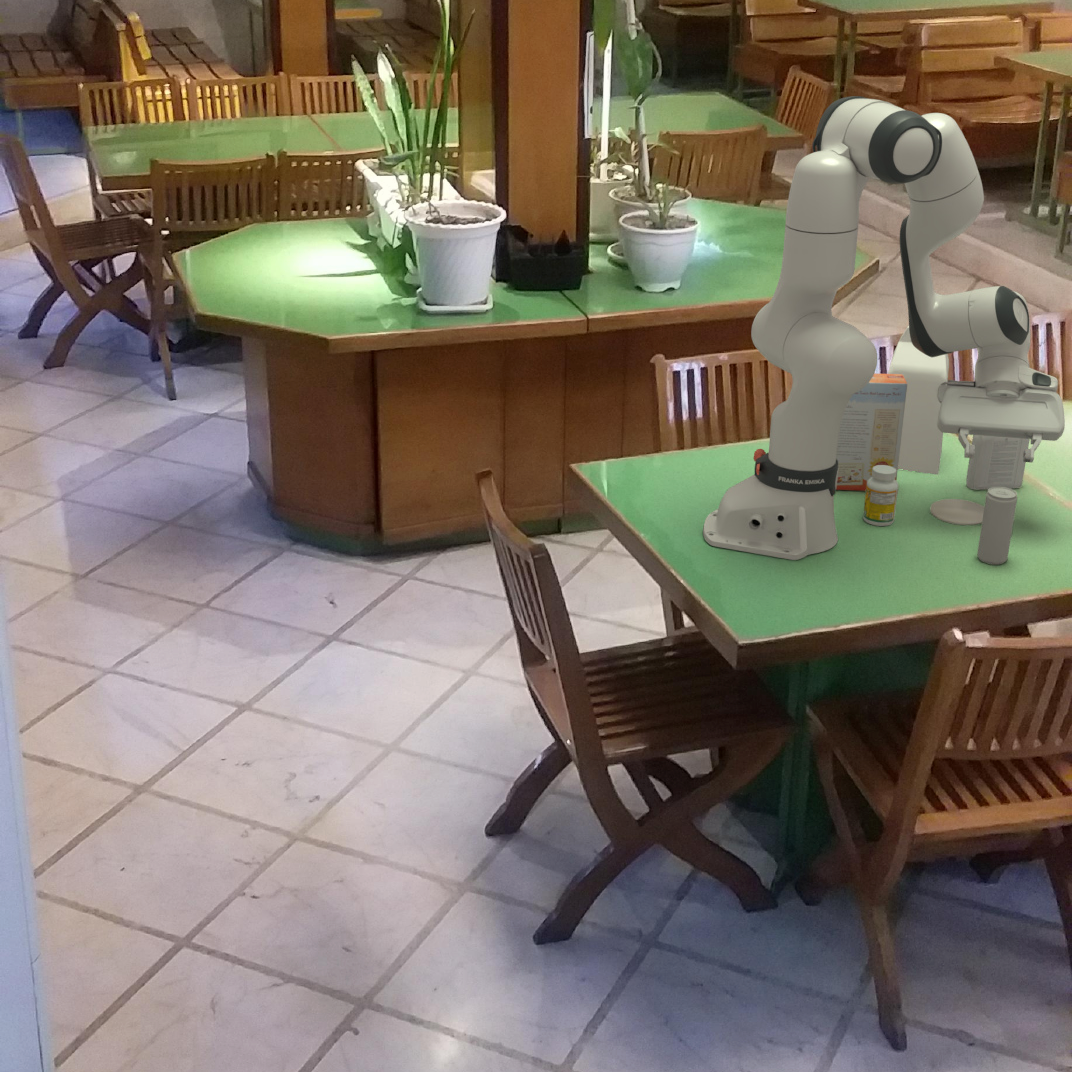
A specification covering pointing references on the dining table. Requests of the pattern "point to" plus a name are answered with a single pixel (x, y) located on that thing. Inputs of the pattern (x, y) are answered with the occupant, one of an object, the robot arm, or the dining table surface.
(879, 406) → the cracker box
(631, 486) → the dining table surface
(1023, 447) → the photo printer
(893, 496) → the supplement bottle
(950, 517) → the white domed disc
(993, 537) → the beverage can
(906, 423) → the milk
